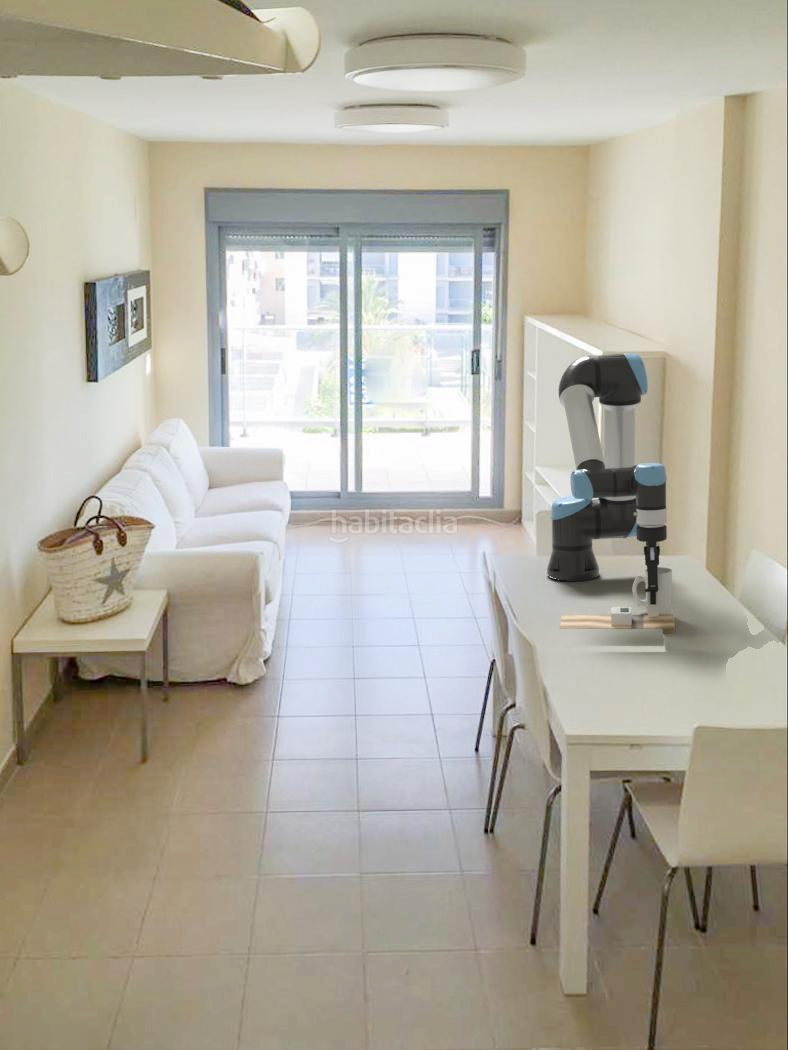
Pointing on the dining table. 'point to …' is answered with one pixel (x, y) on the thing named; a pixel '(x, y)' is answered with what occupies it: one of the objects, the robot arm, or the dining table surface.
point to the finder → (621, 616)
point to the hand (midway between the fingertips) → (652, 611)
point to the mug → (663, 591)
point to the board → (605, 623)
